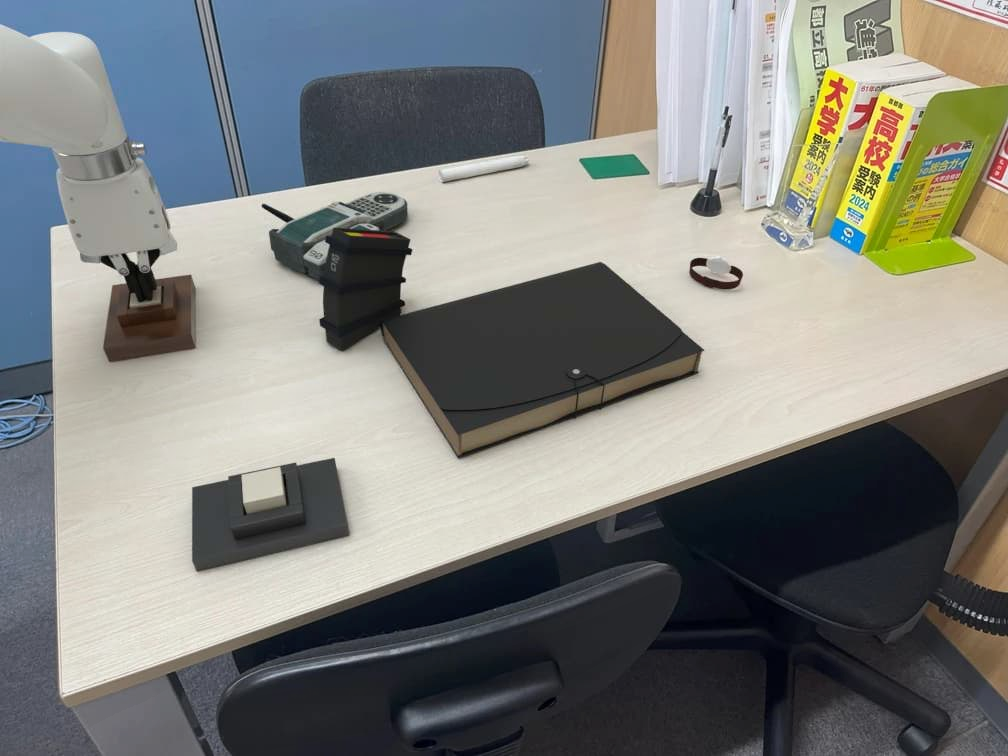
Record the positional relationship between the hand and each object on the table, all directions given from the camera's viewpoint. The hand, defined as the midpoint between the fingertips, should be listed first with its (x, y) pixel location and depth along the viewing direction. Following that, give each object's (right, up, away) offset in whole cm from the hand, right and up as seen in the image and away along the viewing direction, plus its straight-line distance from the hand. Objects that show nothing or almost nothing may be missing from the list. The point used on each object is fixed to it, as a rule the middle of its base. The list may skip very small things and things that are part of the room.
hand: (145, 294), depth 90 cm
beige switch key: (0, -1, +1) cm, 2 cm away
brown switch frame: (0, -3, +3) cm, 4 cm away
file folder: (+50, -8, 0) cm, 50 cm away
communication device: (+22, +11, +20) cm, 31 cm away
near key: (+23, -22, -22) cm, 38 cm away
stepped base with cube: (+23, -24, -20) cm, 39 cm away
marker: (+42, +27, +39) cm, 64 cm away
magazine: (+28, -4, +4) cm, 28 cm away
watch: (+76, +4, +15) cm, 78 cm away
